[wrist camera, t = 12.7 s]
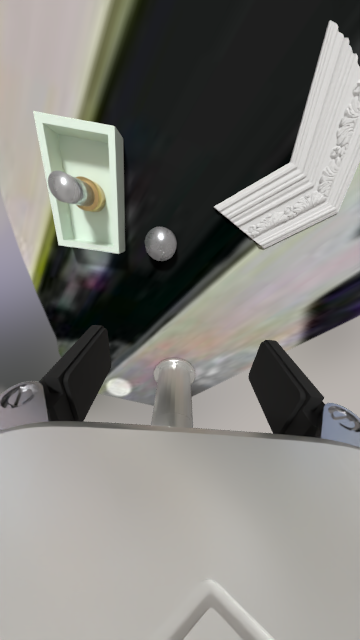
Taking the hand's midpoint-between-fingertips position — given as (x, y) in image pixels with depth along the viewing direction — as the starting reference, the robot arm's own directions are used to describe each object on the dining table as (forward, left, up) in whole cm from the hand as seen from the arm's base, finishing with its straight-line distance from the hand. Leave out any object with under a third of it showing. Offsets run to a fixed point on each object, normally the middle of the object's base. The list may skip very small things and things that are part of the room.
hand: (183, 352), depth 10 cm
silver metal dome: (+3, +5, -30) cm, 30 cm away
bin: (+9, +18, -30) cm, 36 cm away
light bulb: (+9, +18, -29) cm, 35 cm away
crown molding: (+17, -18, -30) cm, 39 cm away
